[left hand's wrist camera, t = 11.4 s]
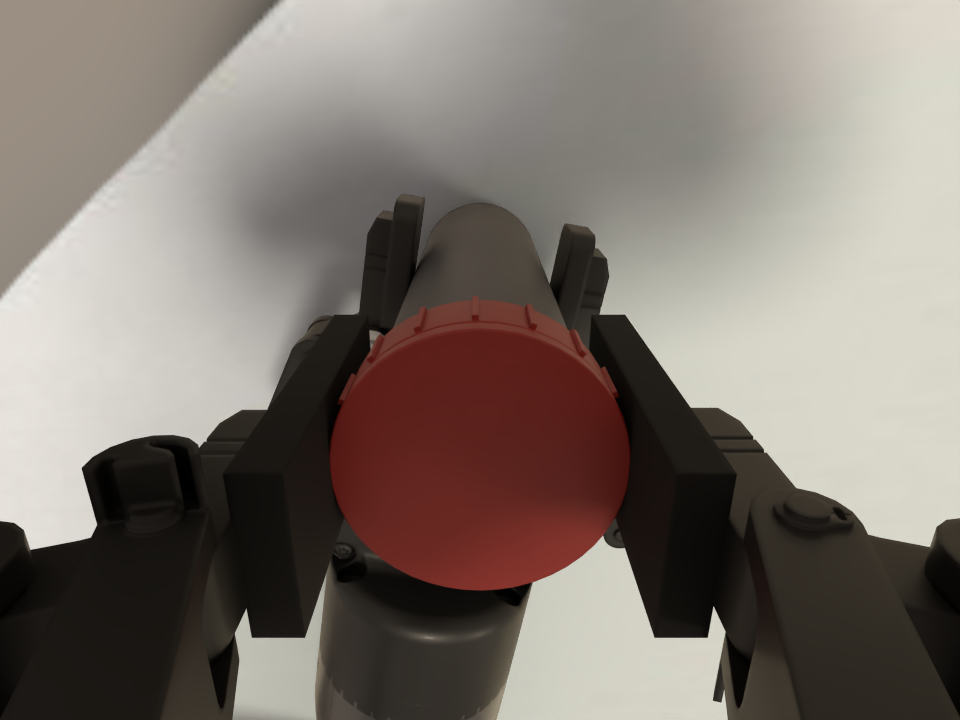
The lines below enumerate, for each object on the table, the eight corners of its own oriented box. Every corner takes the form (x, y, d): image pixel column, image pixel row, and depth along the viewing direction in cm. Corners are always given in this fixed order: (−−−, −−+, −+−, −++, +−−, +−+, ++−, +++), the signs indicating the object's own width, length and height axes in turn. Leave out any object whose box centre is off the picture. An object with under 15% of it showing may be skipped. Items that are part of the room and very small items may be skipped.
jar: (547, 218, 24) (643, 372, 10) (517, 321, 26) (564, 581, 12) (438, 190, 24) (377, 309, 10) (415, 296, 26) (333, 534, 11)
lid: (655, 333, 11) (682, 368, 10) (569, 559, 13) (581, 617, 12) (371, 263, 11) (354, 288, 9) (325, 509, 13) (304, 563, 11)
